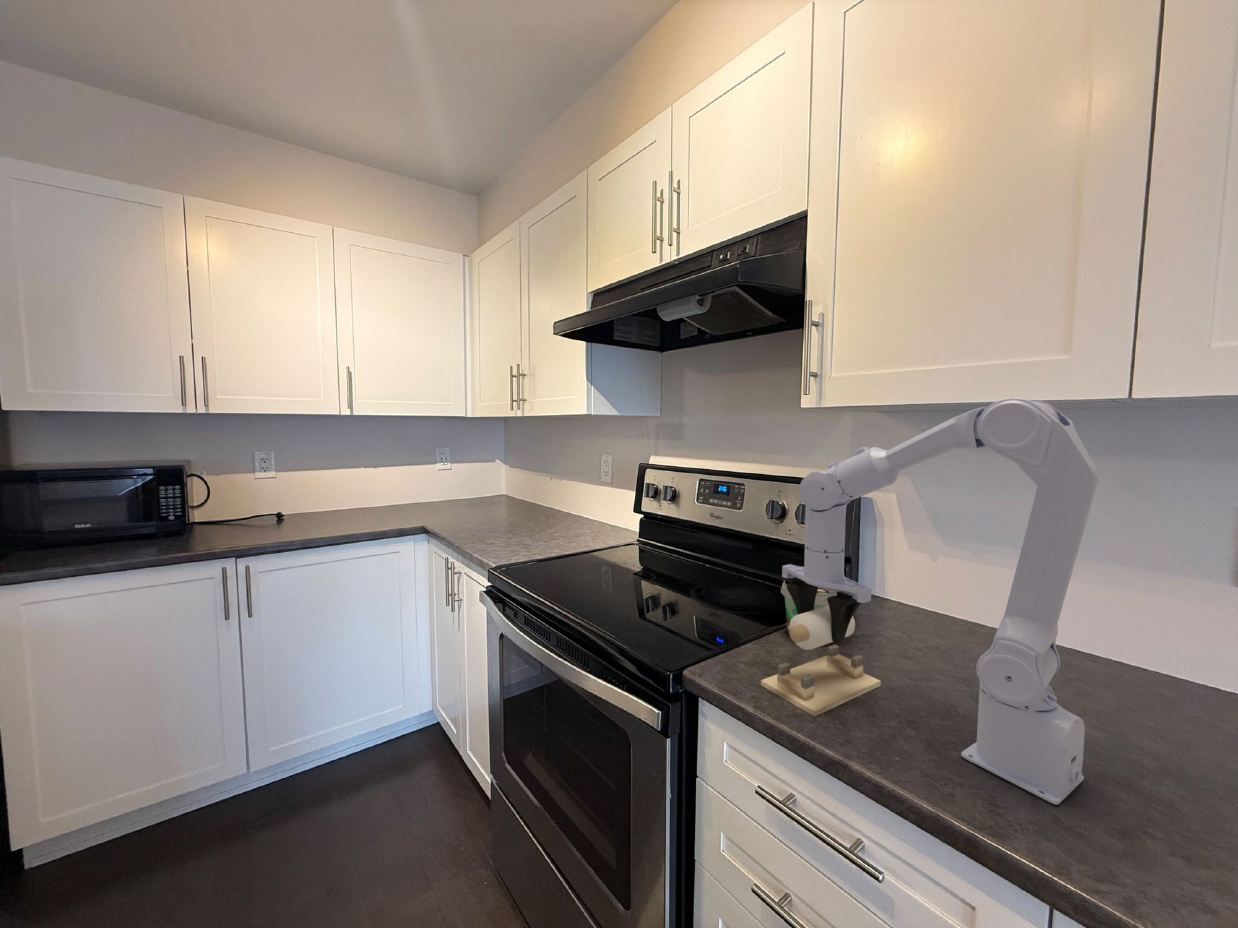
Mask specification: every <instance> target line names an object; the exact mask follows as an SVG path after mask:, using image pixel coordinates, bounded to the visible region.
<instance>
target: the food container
mask: <svg viewBox="0 0 1238 928" xmlns="http://www.w3.org/2000/svg"><path fill="white" fill-rule="evenodd" d="M780 593H781V594H782V596H784V603H785V614H786V615H785V617H786V629H787V632H788V634H789V630H790V629H789V625H790V621H791V619H792V618H793V617H794V616H796V615H798V613H797V609H796V606H795V604H794V601H793V599H792V597H791V595H790V593H789V591H788V590H787V583H786V581H785V579H784V580H783V583H782V586H781V588H780ZM831 596H837V593H835V592H832V591H829V590H826V589H822V588H819V587H818V590H817V594H816V598H815V604H814V610H815V609H819V608H822V607H825V606H829V604H828V601H827V598H828V597H831ZM833 643H835V642H834V641H833V642H831V643H828V644H833ZM828 644H827V645H828Z"/></svg>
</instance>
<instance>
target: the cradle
mask: <svg viewBox="0 0 1238 928" xmlns="http://www.w3.org/2000/svg"><path fill="white" fill-rule="evenodd" d="M791 665H792V664H790V663H788V662H783V663H780V664H778V665H777V669H776V670H777V674H774V675H771V676H769V677H766V678H763V679H760V686H761V687H763V688H765V689H767V690H768V691H770V692H771V693H774V695H777V696H779V697H780V698H782V699H783V700H784V701H785V700H786V701H787V702H789V703H791V704H792V705H793V706H795V707H798V708H799V709H801V710H802V711H804V712H806V713H808V714H809V715H810V716H813V718H814V717H817V716H819V715H821V714H823V713H825V712H827V711H829V710H832V709H834V708H836V707H838V706H840V705H843V704H845V703H847V702H849V701H851V700H853V699H855V698H857V697H860V696H862V695H863V694H866V693H868V692H870V691H872V690H875V689H876V688H878V687H881V684H882V681H881V680H880V679H878V678H875V677H873V676H871V675H869V674H867V673H864V656H863V655H860V654H857V655H855V656H853V657H851V658H848V657H845V656H843V655H841V654H840V646H839V645H837V644H833V645H830V646H827V648H826V655H824V656H821V657H819V658H816V659H814V660H811V661H808V662H806V663H803V664H800V665H798V666H795V667H792V668H791Z"/></svg>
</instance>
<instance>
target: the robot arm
mask: <svg viewBox="0 0 1238 928" xmlns="http://www.w3.org/2000/svg"><path fill="white" fill-rule="evenodd" d="M959 448H961V449H962V448H963V449H980V448H981V449H982V448H988V449H990V450H991V451H993V452H994V453H996V454H998V455H1000V456H1002V457H1003V458H1005V459H1007V460H1010V461H1012V462H1013V463H1015V464H1016V465H1017V466H1018V467H1019V468H1020V470H1022V471H1023V472H1024V474H1026V476H1027V477H1029V479H1030V480H1031V481H1033V482H1034V484H1035V485H1036V491H1035V495H1034V499H1033V502H1032V507H1031V511H1030V514H1029V519H1028V523H1027V527H1026V530H1025V533H1024V538H1023V541H1022V546H1021V549H1020V554H1019V557H1018V560H1017V565H1016V569H1015V572H1014V577H1013V580H1012V583H1011V588H1010V592H1009V595H1008V599H1007V603H1006V607H1005V611H1004V614H1003V617H1002V619H1001V621H1000V624H999V626H998V628H997V630H996V632H995V635H994V639H993V641H992V644H991V646H990V648H988V650H986V651H985V652H984V653H982V654H981V656H980V657H979V658H978V660H977V662H976V676H977V678H978V680H979V691H978V692H979V693H978V709H977V710H978V713H977V729H976V742H973V744H971V745H970V746H968V747H967V748H965V749H964V750H962V751H961V753H960V755H961V757H962V758H964V759H965V760H967V761H968V762H971V763H972V764H975V765H977V766H979V767H981V768H983V769H985V770H987V771H988V772H990V773H992V774H993V775H996V776H998V777H1000V778H1002V779H1004V780H1006V781H1008V782H1010V783H1012V784H1013V785H1015V786H1018V787H1019V788H1021V789H1024V791H1027V792H1029V793H1031V794H1033V795H1035V796H1037V797H1039V798H1041V799H1043V800H1045V801H1046V802H1048V803H1051V804H1053V805H1057V806H1058V805H1060V804H1061V803H1062V802H1063V801H1064V800H1065V799H1066V798H1067V796H1069V795H1070V794H1071V793H1072V792H1073V791H1074V790H1075V789H1076V788H1077V786H1079V785H1080V784H1081V783H1082V782H1083V781H1084V775H1083V763H1084V751H1085V750H1084V749H1085V736H1086V735H1085V733H1086V727H1085V722H1084V720H1083V718H1082V717H1080V716H1078V715H1076V714H1074V713H1072V712H1070V711H1068V710H1066V709H1065V708H1063V707H1062V706H1061V705H1060V704H1058V697H1057V696H1055V692H1054V691H1053V688H1052V687H1051V685H1050V682H1051V681H1052V679H1053V678H1054V676H1055V675H1057V674H1058V672H1059V670H1060V666H1061V658H1060V654H1059V652H1058V650H1057V645H1056V641H1057V638H1058V634H1059V633H1058V632H1059V625H1058V623H1059V619H1060V616H1061V613H1062V609H1063V605H1064V604H1065V603H1064V602H1065V598H1066V595H1067V591H1068V588H1069V584H1070V582H1071V577H1072V574H1073V570H1074V567H1075V564H1076V559H1077V557H1078V552H1079V549H1080V545H1081V542H1082V539H1083V535H1084V531H1085V528H1086V524H1087V521H1088V518H1089V514H1090V510H1091V507H1092V503H1093V499H1094V496H1095V493H1096V489H1097V485H1098V483H1099V471H1098V469H1097V467H1096V465H1095V463H1094V462H1093V460H1092V458H1091V456H1090V454H1089V453H1088V451H1087V449H1086V447H1085V446H1084V443H1083V442H1082V441H1081V438H1080V436H1079V434H1078V433H1077V431H1076V427H1075V425H1074V422H1073V421H1072V420H1071V419H1070V418H1069V417H1068V416H1066V415H1064V413H1062V412H1061V411H1059V410H1058V409H1057V408H1055V407H1054V406H1053V405H1052V404H1051V403H1048V402H1045V401H1043V400H1037V399H1026V398H1022V397H1008V398H1007V397H1006V398H1002V399H999V400H997V401H995V402H993V403H991V404H990V405H988V406H987V407H986V406H985V407H984V406H983V407H982V406H981V407H979V408H975V409H972V410H969V411H966V412H964V413H962V414H959V415H957V416H954V417H951V418H950V419H948V420H946V421H944V422H942V423H940V424H938V425H936V426H934V427H932V428H930V429H928V430H926V431H923V432H922V433H920V434H918V435H916V436H914V437H911V438H910V439H908V440H906V441H904V442H901V443H900V444H898V445H896V446H894V447H892V448H891V449H888V450H887V449H884V448H883V449H882V448H880V447H875V446H872V447H871V448H869V447H868V446H861V447H860V448H859V449H856V450H855V454H856V455H853V456H852V457H849V458H847V459H845V460H843V461H841V462H839V463H837V462H831V463H829V464H827V469H826V471H820V470H819V471H816V470H815V471H811V472H809V474H808V475H806V476H805V477H803V478H802V480H801V481H800V484H799V488H798V493H799V498H800V500H801V502H802V503H803V504H804V506H805V521H804V523H805V524H804V527H805V528H804V562H803V563H804V564H803V565H804V566H799V565H794V564H792V563H789V564H785V565H782V567H781V568H782V570H781V571H782V572H781V577H782V578H784V579H792V581H791V583H786V585H787V590H788V591H789V593H790V595H791V597H792V599H793V601H794V604H795V606H796V609H797V613H798V615H799V614H802V613H805V612H809V611H812V610H814V604H815V598H816V594H817V590H818V588H821V589H824V590H828V591H832V592H835V593H837V596H831V597H828V598H827V601H828V604H829V608H830V613H831V635H832V641H834V642H833V643H839V642H841V641H845V638H846V637H845V635H846V631H847V628H848V625H849V623H850V621H851V618H852V616H853V617H854V614H855V612H856V611H857V610H858V608H859V606H860V605H861V604H865V603H869V602H871V601H872V588H871V587H869V586H867V585H866V586H865V585H864V584H861V583H859V582H857V581H854V580H852V579H850V578H848V577H847V576H845V549H846V548H845V547H846V545H845V543H846V542H845V541H846V516H847V515H846V513H847V510H846V509H847V506H848V504H849V503H851V501H853V500H856V499H859V498H862V497H864V496H866V495H869V494H871V493H873V492H877V491H879V490H881V489H883V488H885V487H888V486H891V485H893V484H894V483H896V481H897V479H898V476H899V474H900V472H901V471H902V470H904V469H907V468H911V467H913V466H915V465H918V464H921V463H923V462H925V461H928V460H931V459H934V458H936V457H938V456H941V455H944V454H946V453H948V452H949V453H950V452H952V451H954V450H956V449H959Z"/></svg>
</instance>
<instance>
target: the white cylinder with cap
mask: <svg viewBox="0 0 1238 928" xmlns="http://www.w3.org/2000/svg"><path fill="white" fill-rule="evenodd" d="M854 617H855V616H854V615H853V616H852V618H851V621H850V623H849V625H848V628H847V631H846V635H845V638H847V637H850V636H851V635H852V634H854V632H855V629H856V621H855V618H854ZM789 629H790V630H789V633H788V634H789V637H790V639H791V640H792V642H794V643H795V644H796V646H798V647H799V648H801V649H803V650H806V651H810V650H814V649H817V648H819V647H822V646H825V645H828V643H830V644H832V643H831V642H833V641H832V635H831V613H830V608H829V606H825V607H822V608H819V609H815V610H812V611H809V612H805V613H802V614H799V615H796V616H794V617H793V618H792V619H791V621H790V625H789ZM833 643H834V642H833Z"/></svg>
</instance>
